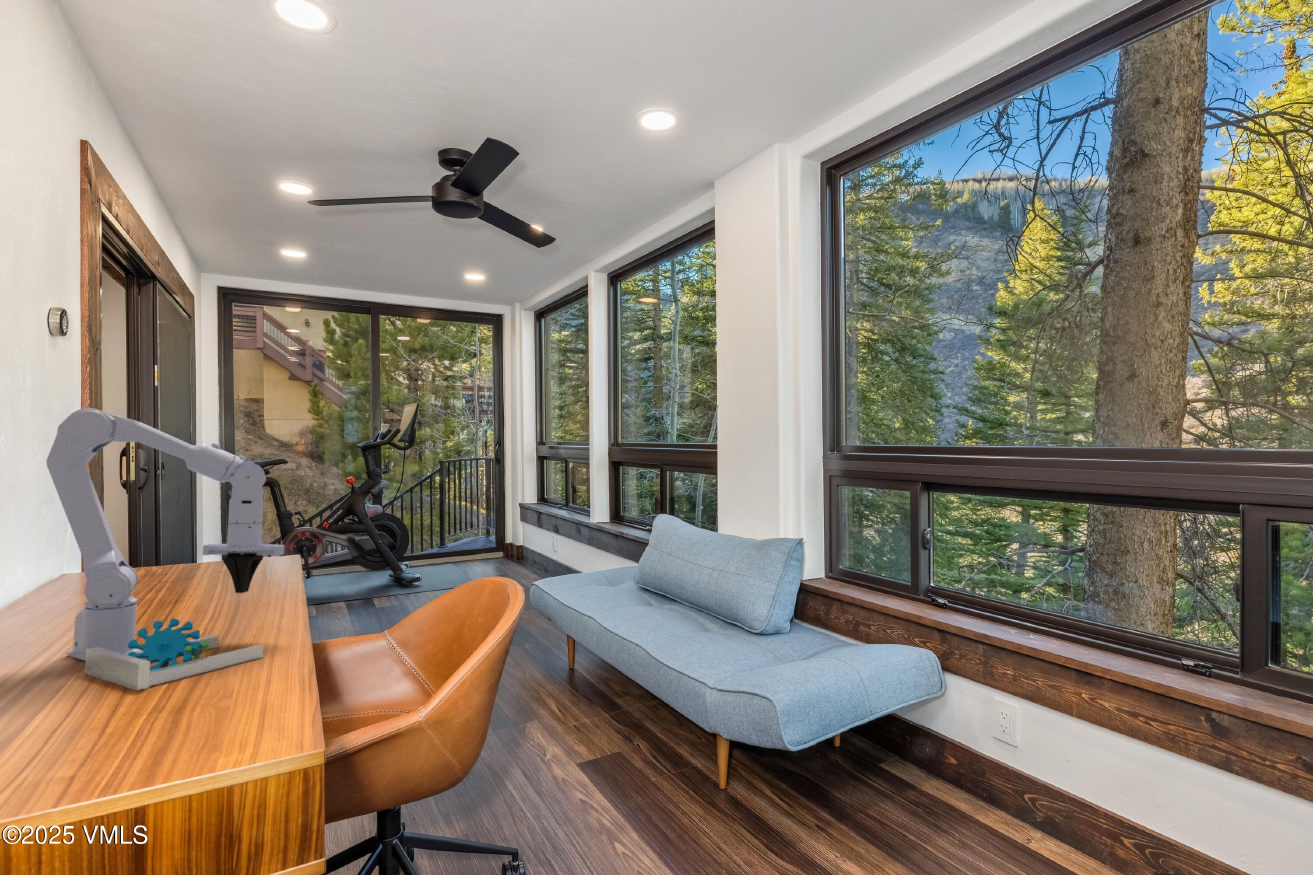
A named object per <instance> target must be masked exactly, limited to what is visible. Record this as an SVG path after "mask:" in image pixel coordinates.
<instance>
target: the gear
mask: <svg viewBox="0 0 1313 875" xmlns="http://www.w3.org/2000/svg"><path fill="white" fill-rule="evenodd" d="M163 624H164V622H163V621H162V620H156V621H153V622H152V627H153V629H154V630H153V634H152V635H148V629H147V628H146V627H143V628H141V629H139V630H137V636H138V637H139V638H142V639H143V640H144V641H145V642H144V643H141V644H140V643H139V642H138V640H137V639H136V638H135V639H133V640H131V641H130V642H129V644H128V648H129V649H140V650H142V651H144V652H143V653H141V654H138V653H136V652H129V654H128V656H132V657H135V658H148V660H147V661H150V665H151V664H153V663H157V662H158V663H157V664H154V665H151V666H150V671H151V670H156V669H160V668H162V667H163V665H164V664H167V667H168V666H172V665H176V664H178V662H176V660H177V658H178V656H179V657H182V663H185V662H189V661H193V659H194V660H197V659H201V658H200V656H201V655H202V654H203V651H204V650H205V649H206V650H208V649H207V648H208V641H207V640H204V641H202V642H201V643H200V642H190V641H188V638H190V639H199V638H201V636H200V635H201V634H200V630H199V629H197V630H194V631H192V632H185V631H191V630H193V629H194V627H193V623H192V622H191V621H186V622H185V623H184V624H183V625H181V626H180V620H179V619H178V618H174V617H173V618H171V619H170V620H169V623H168V625H167V626H166V627H165V628H164V629H162V630H160V629H161V628H162V627H163ZM178 626H179V627H178ZM175 627H177V628H175ZM173 628H175V629H173ZM183 631H184V632H183ZM202 649H203V650H202ZM193 657H194V658H193ZM166 662H168V663H166Z"/></svg>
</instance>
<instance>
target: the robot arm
mask: <svg viewBox="0 0 1313 875" xmlns="http://www.w3.org/2000/svg"><path fill="white" fill-rule="evenodd" d="M112 442H119V443H139V444H141V445H145V446H147V447H149V448H153V449H155V450H157V451H160V452H163V453H164V454H165V453H166V454H169V455H170V456H173V457H177V458H179V459H182V460H184V462H185V465H186V468H187V469H188V470H190V471H191V472H194V473H196V474H200V475H202V476H204V477H207V478H209V479H212V480H215V481H217V482H220V483H222V484H225V483H230V484H231V486H232V487H231V498H230V499H229V502H228V518H227V519H228V522H227V537H226V540H227V541H226V543H208V544H203V545H202V556H210V555H217V556H219V555H223V556H226V557H223V559H222V562H223V564H224V565H225V567H226V568H227V570H228V572H229V575H230V576H231V580H232V582H233V586H234V590H235V593H236V594H245V593H246V592H249V589H250V585H251V583H252V580H253V577H254V575H255V573H256V570H257V569H258V567H259V566H260V564H261V563H262V562H263V560H264V556H275V557H279V556H280V557H281V556H284V555H285V544H270V543H269V544H268V543H262V536H263V535H262V534H263V532H262V531H263V521H264V520H263V519H264V499H263V496H264V489H263V486H264V485H265V483H266V480H267V477H266V473H265V470H264V469H263V468H262V467H261V466H260V465H259V464H256V463H255V462H253V461H248V460H247V461H245V460H246V456H244V455H241V454H240V455H239V456H238V455H235V454H233V453H230V452H229V451H226V450H224V449H221V448H220V447H221V446H220V445H219V444H217V443H215V442H213V443H211V444H209V443H207V442H203V443H198V444H194V445H193V444H190V443H188V442H186V441H184V440H181V439H179V438H177V437H175V436H172V435H170V434H168V433H165V432H164V431H161V430H159V429H158V428H154V427H152V426H150V425H148V424H145V423H143V422H141V421H137V420H134V419H131V418H127V417H123V416H121V415H117V414H113V413H109V412H105V411H102V410H100V409H97V408H92V407H91V408H90V407H88V408H86V407H85V408H80V409H77V410H75V411H74V412H72V413H70V414H69V415H68V416H67V417H66V418H65V419H64V420H63V421H62V422H61V423H60V424H58V426H57V433H56V436H55V437H54V441H53V444H52V445H51V447H50V451H49V453H48V456H47V458H46V461H45V462H46V467H47V470H48V472H49V474H50V476H51V480H52V481H53V482H52V483H53V485H54V488H55V490H56V492H57V495H58V498H59V501H60V504H61V505H62V507H63V510H64V512H65V513H64V514H65V515H66V518H67V521H68V523H69V526H70V528H71V531H72V533H73V536H74V539H75V541H76V544H77V545H78V546H77V547H78V549H79V551H80V554H81V557H82V561H83V562H82V563H83V573H84V575H85V580H86V584H85V587H84V595H85V598H86V599H87V601H86V602H85V603H84V607H82V608H81V609H80V610H79V611H78V612H77V613H76V616H75V620H74V630H73V646H72V647H73V648H72V650H71V651H67V652H66V653H65V655H66V656H68V657H71V658H75V659H79V660H81V661H84V662H85V661H86V649H89V648H94V647H100V648H103V649H107V650H110V651H114V652H118V653H121V654H127V653H129V652H136V651H141V650H140V649H129V648H128V644H129V642H130V641H131V640H133V639H135V640H136V624H137V610H138V608H137V607H138V599H137V598H136V597H134V596H133V594H132V593H131V592H133V591H134V590H135V588H136V587H137V586H138V581H139V575H138V573H137V571H136V570H135V569H134V567H132V566H130V565H129V564H128V563H127V562H126V559H125V557H124V554H122V552H121V550H120V549H119V548H118V546H117V544H116V540H115V538H114V535H113V533H112V529H111V528H110V524H109V521H108V520H107V517H106V514H105V512H104V509H103V507H102V504H101V501H100V498H99V496H98V494H97V491H96V489H95V486H94V482H93V480H92V477H91V475H90V472H89V470H88V467H87V466H88V465H89V463H90V461H91V460H93V458H94V457H95V456H96V454H98V451H100V450H101V449H104V447H106V446H108V445H109V444H111V443H112Z"/></svg>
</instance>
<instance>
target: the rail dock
mask: <svg viewBox="0 0 1313 875" xmlns="http://www.w3.org/2000/svg"><path fill="white" fill-rule="evenodd" d="M219 637H220V636H219V635H216V634H212V635H207V636H202V637H200V638H199V639H193V638H191V639H189V640H188V639H187V640H188V641H190V642H200V643H201V642H202V641H204V640H207V641H208V648H207V649H205V650H209V649H214V648H218V647H219V641H220V639H219ZM202 651H204V650H203V649H202ZM143 652H144V651H142V650H141V651H136V653H138V654H141V653H143ZM128 654H129V653H127V654H121V653H118V652H114V651H110V650H107V649H103V648H100V647H94V648H89V649H86V661H84V662H85V664H84V665H85V666H84V675H86V674H87V676H90V677H92V678H96V679H98V680H102V681H106V682H108V683H111V682H112V683H111V684H114V683H116V684H115V685H117V684H118V685H117V686H121V685H123V686H122V687H124V686H125V687H124V688H127V689H129V690H133V689H134V691H137V692H138V690H139V691H141V689H143V690H145V689H149V688H150V687H154V686H158V685H162V684H165V682H166V683H169V682H173V681H177V680H181V679H184V678H188V677H193V676H196V675H199V674H203V673H208V672H211V671H216V670H219V669H222V668H227V667H231V666H235V665H238V664H242V663H247V662H250V661H253V660H258V659H261V658H263V657H264V646H263V645H261V644H256V645H251V646H248V647H244V648H240V649H239V648H238V649H235V650H231V651H227V652H223V653H218V654H214V655H210V656H206V657H203V658H200V659H197V660H193V659H192V660H191V661H189V662H185V663H184V662H181V663H177V664H176V665H172V666H168V665H167V666H165V667H161V668H160V669H156V670H151V671H150V668H151V664H150V661H147V660H148V658H135V657H132V656H128ZM153 685H154V686H153Z"/></svg>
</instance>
